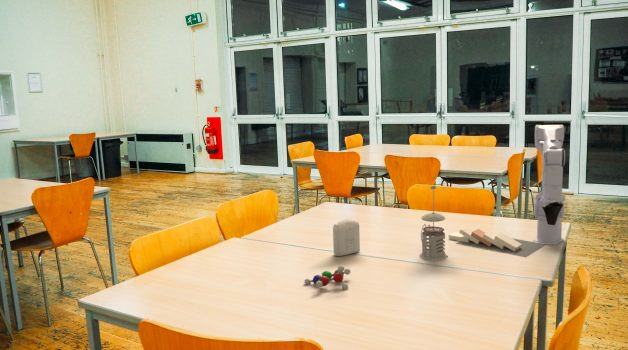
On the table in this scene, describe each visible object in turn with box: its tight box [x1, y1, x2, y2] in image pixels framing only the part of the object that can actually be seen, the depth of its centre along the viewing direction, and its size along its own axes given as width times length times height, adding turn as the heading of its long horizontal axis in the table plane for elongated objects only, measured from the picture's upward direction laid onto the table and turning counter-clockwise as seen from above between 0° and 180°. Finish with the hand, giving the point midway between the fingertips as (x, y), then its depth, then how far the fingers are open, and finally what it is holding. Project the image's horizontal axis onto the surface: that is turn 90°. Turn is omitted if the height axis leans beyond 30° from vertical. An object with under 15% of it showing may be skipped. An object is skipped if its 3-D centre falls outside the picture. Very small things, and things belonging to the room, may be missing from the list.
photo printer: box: [332, 219, 361, 257], centre depth 183 cm, size 10×4×12 cm, turn 123°
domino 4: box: [494, 232, 522, 251], centre depth 181 cm, size 5×2×8 cm
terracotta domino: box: [471, 228, 494, 247], centre depth 187 cm, size 5×2×8 cm
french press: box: [419, 185, 449, 262], centre depth 174 cm, size 10×12×25 cm
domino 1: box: [448, 231, 471, 243], centre depth 193 cm, size 5×2×8 cm
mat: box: [456, 237, 548, 258], centre depth 186 cm, size 18×26×1 cm
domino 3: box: [482, 230, 506, 249], centre depth 184 cm, size 5×2×8 cm
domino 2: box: [458, 226, 481, 244], centre depth 190 cm, size 5×2×8 cm
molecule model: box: [303, 264, 351, 290], centre depth 155 cm, size 15×7×14 cm
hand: (551, 224), depth 172 cm, fingers closed
